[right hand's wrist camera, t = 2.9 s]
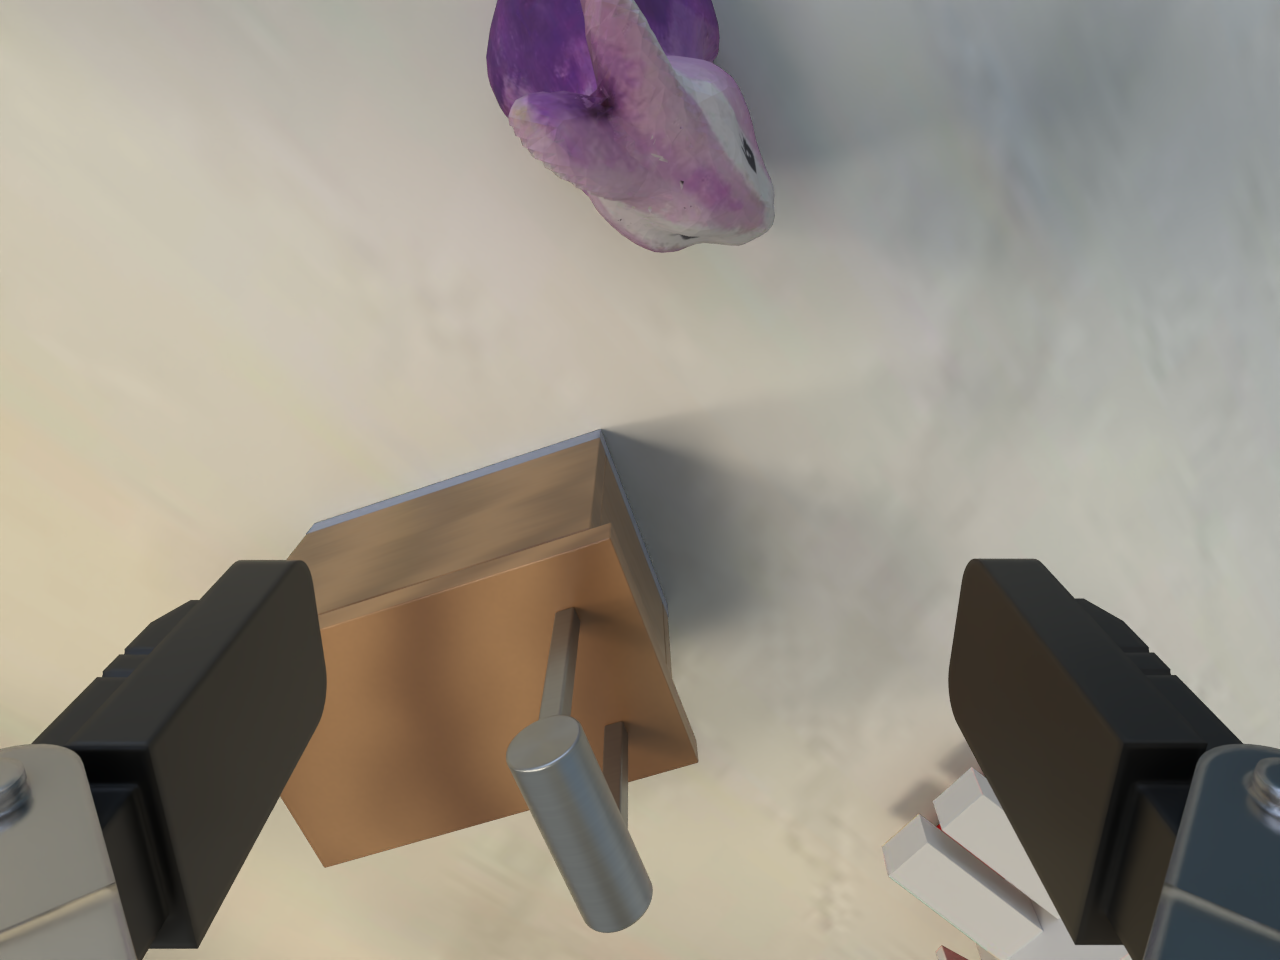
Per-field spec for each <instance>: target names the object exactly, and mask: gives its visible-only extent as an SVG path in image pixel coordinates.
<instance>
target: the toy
mask: <svg viewBox="0 0 1280 960" xmlns="http://www.w3.org/2000/svg"><path fill="white" fill-rule="evenodd" d="M933 804H934V807H935V810H936V813H937V817H938V820H939V823H940V824H939V825H938V826H937V827H936V826H934V825H933V824H932V823H931V822H929V821H928V820H927V819H925V818H924V817H923V816H921V815H920V814H918V815H917V816H916V817H914V818H913V819H912V820H911V821H910V822H909V823H908V824H906V825H905V826H904V827H903V828H902V829H901V830H900V831H899V832H897V833H896V834H895V835H894V836H893V837H892V838H891V839H890V840H888V841H887V842H886V843H885V844H884V845H883V846H882V850H883V855H884V859H885V864H886V868H887V873H888V877H890V878H891V879H892V880H894V881H895V882H896V883H898V884H899V885H900V886H902V887H903V888H904V889H906V890H907V891H908V892H909V893H911V894H912V895H913V896H915V897H916V898H917V899H919V900H920V901H921V902H923V903H924V904H925V905H927V906H928V907H929V908H931V909H932V910H933V911H935V912H936V913H937V914H939V915H940V916H941V917H943V918H944V919H945V920H947V921H948V922H949V923H950V924H952V925H953V926H954V927H956V928H957V929H958V930H960V931H961V932H962V933H964V934H965V935H966V936H968V937H969V938H970V939H972V940H973V941H974V942H976V945H977V948H978V951H979V955H980V958H981V960H1132V959H1131V957H1130V955H1129V953H1128V952H1127V950H1126V948H1125V947H1124V945H1075V944H1074V942H1073V940H1072V938H1071V936H1070V935H1069V933H1068V931H1067V929H1066V927H1065V925H1064V923H1063V921H1062V920H1061V918H1060V916H1059V914H1058V912H1057V910H1056V908H1055V906H1054V905H1053V903H1052V901H1051V899H1050V897H1049V895H1048V893H1047V891H1046V889H1045V888H1044V886H1043V884H1042V882H1041V880H1040V878H1039V876H1038V874H1037V873H1036V871H1035V869H1034V867H1033V865H1032V863H1031V861H1030V859H1029V858H1028V856H1027V854H1026V852H1025V850H1024V848H1023V846H1022V844H1021V843H1020V841H1019V839H1018V837H1017V835H1016V833H1015V831H1014V829H1013V827H1012V826H1011V824H1010V822H1009V820H1008V818H1007V816H1006V814H1005V812H1004V811H1003V809H1002V807H1001V805H1000V803H999V801H998V799H997V797H996V796H995V794H994V792H993V790H992V788H991V786H990V784H989V782H988V781H987V779H986V778H985V777H984V776H983V775H981V774H980V773H979V772H978V771H976V770H975V769H974V768H972V767H971V768H970V769H969V770H968V771H966V772H965V773H964V774H963V775H962V776H961V777H960V778H959V779H957V780H956V781H955V782H954V783H953V784H952V785H951V786H949V787H948V788H947V789H946V790H945V791H944V792H943V793H942V794H940V795H939V796H938V797H937V798H936V799H935V800H934V801H933ZM936 955H937V958H938V960H968V959H966V958H964V957H962V956H960V955H959V954H957V953H955V952H953V951H951V950H950V949H948V948H946V947H944V946H941V947H940V948H939V949H938V950H937V951H936Z"/></svg>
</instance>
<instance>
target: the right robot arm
mask: <svg viewBox="0 0 1280 960" xmlns="http://www.w3.org/2000/svg"><path fill="white" fill-rule="evenodd" d="M948 682H949V696H950V702H951V707H952V711H953V714H954V717H955V720H956V722H957V724H958V726H959V728H960V730H961V732H962V734H963V735H964V737H965V739H966V741H967V743H968V745H969V747H970V749H971V750H972V752H973V754H974V756H975V758H976V760H977V762H978V764H979V765H980V767H981V769H982V771H983V773H984V775H985V777H986V779H987V781H988V782H989V784H990V786H991V788H992V790H993V792H994V794H995V796H996V797H997V799H998V801H999V803H1000V805H1001V807H1002V809H1003V811H1004V812H1005V814H1006V816H1007V818H1008V820H1009V822H1010V824H1011V826H1012V827H1013V829H1014V831H1015V833H1016V835H1017V837H1018V839H1019V841H1020V843H1021V844H1022V846H1023V848H1024V850H1025V852H1026V854H1027V856H1028V858H1029V859H1030V861H1031V863H1032V865H1033V867H1034V869H1035V871H1036V873H1037V874H1038V876H1039V878H1040V880H1041V882H1042V884H1043V886H1044V888H1045V889H1046V891H1047V893H1048V895H1049V897H1050V899H1051V901H1052V903H1053V905H1054V906H1055V908H1056V910H1057V912H1058V914H1059V916H1060V918H1061V920H1062V921H1063V923H1064V925H1065V927H1066V929H1067V931H1068V933H1069V935H1070V936H1071V938H1072V940H1073V942H1074V944H1075V945H1124V947H1125V948H1126V950H1127V952H1128V953H1129V955H1130V957H1131V959H1132V960H1280V749H1277V748H1272V747H1267V746H1260V745H1252V744H1243V743H1242V742H1241V741H1240V740H1239V739H1238V738H1237V737H1236V736H1235V735H1234V734H1233V733H1232V732H1231V731H1230V730H1229V729H1228V728H1227V727H1226V726H1225V725H1224V724H1223V723H1222V722H1221V721H1220V720H1219V719H1218V718H1217V717H1216V715H1215V714H1214V713H1213V712H1212V711H1211V710H1210V709H1209V708H1208V707H1207V706H1206V705H1205V704H1204V703H1203V702H1202V701H1201V700H1200V699H1199V698H1198V697H1197V696H1196V695H1195V694H1194V693H1193V692H1192V691H1191V690H1190V689H1189V688H1188V687H1187V686H1186V685H1185V684H1184V683H1183V682H1182V681H1181V680H1180V679H1179V678H1178V677H1177V676H1176V675H1171V673H1170V668H1169V667H1168V666H1167V665H1166V664H1165V663H1164V662H1163V661H1162V660H1161V659H1160V658H1159V657H1158V656H1157V655H1156V654H1155V653H1149V647H1148V646H1147V645H1146V644H1145V643H1144V642H1143V641H1142V640H1141V639H1140V638H1139V637H1138V636H1137V635H1136V634H1135V633H1134V632H1133V631H1132V630H1131V629H1130V628H1129V627H1128V626H1127V625H1126V624H1125V623H1124V621H1122V620H1120V619H1119V618H1117V617H1115V616H1113V615H1112V614H1110V613H1108V612H1106V611H1105V610H1103V609H1101V608H1099V607H1097V606H1096V605H1094V604H1092V603H1090V602H1089V601H1087V600H1085V599H1075V598H1074V597H1073V596H1072V595H1071V594H1070V593H1069V592H1068V591H1067V590H1066V589H1065V588H1064V587H1063V585H1062V584H1061V583H1060V582H1059V581H1058V580H1057V579H1056V578H1055V577H1054V576H1053V575H1052V574H1051V572H1050V571H1049V570H1048V569H1047V568H1046V567H1045V566H1044V565H1043V564H1042V563H1041V562H1040V561H1039V560H1037V559H972V560H971V561H970V562H969V563H968V564H967V566H966V568H965V571H964V574H963V579H962V585H961V591H960V598H959V605H958V612H957V618H956V625H955V632H954V639H953V645H952V652H951V659H950V666H949V678H948ZM326 690H327V673H326V665H325V659H324V652H323V645H322V639H321V632H320V626H319V619H318V612H317V606H316V599H315V592H314V586H313V580H312V576H311V572H310V570H309V567H308V566H307V564H306V563H305V562H304V561H302V560H239V561H237V562H235V563H234V564H233V565H232V566H231V567H230V568H229V569H228V570H227V571H226V572H225V573H224V574H223V575H222V576H221V578H220V579H219V580H218V581H217V582H216V583H215V584H214V585H213V586H212V587H211V588H210V589H209V590H208V591H207V593H206V594H205V595H204V596H203V597H202V598H201V599H200V600H190V601H188V602H187V603H185V604H183V605H181V606H180V607H178V608H176V609H174V610H172V611H171V612H169V613H167V614H165V615H164V616H162V617H160V618H158V619H157V620H155V621H153V622H151V623H150V624H149V625H148V626H147V627H146V628H145V629H144V630H143V631H142V632H141V633H140V634H139V635H138V636H137V637H136V638H135V639H134V640H133V641H132V642H131V643H130V644H129V645H128V646H127V647H126V648H125V654H124V655H119V656H118V657H117V658H116V659H115V660H114V661H113V662H112V663H111V664H110V665H109V666H108V667H107V668H106V669H105V670H104V671H103V676H102V677H97V678H96V679H95V680H94V681H93V682H92V683H91V684H90V685H89V686H88V687H87V688H86V689H85V690H84V691H83V692H82V693H81V694H80V695H79V696H78V697H77V698H76V699H75V700H74V701H73V702H72V703H71V704H70V705H69V706H68V707H67V708H66V709H65V710H64V711H63V712H62V713H61V714H60V715H59V716H58V717H57V718H56V719H55V720H54V721H53V722H52V723H51V724H50V725H49V726H48V727H47V728H46V729H45V730H44V731H43V732H42V733H41V734H40V736H39V737H38V738H37V739H36V740H35V741H34V742H33V743H32V744H28V745H20V746H13V747H8V748H3V749H0V960H142V959H143V957H144V956H145V954H146V952H147V951H148V949H198V947H199V945H200V943H201V941H202V940H203V938H204V936H205V934H206V932H207V930H208V929H209V927H210V925H211V923H212V921H213V919H214V917H215V916H216V914H217V912H218V910H219V908H220V906H221V904H222V903H223V901H224V899H225V897H226V895H227V893H228V891H229V890H230V888H231V886H232V884H233V882H234V880H235V878H236V877H237V875H238V873H239V871H240V869H241V867H242V865H243V864H244V862H245V860H246V858H247V856H248V854H249V852H250V851H251V849H252V847H253V845H254V843H255V841H256V839H257V838H258V836H259V834H260V832H261V830H262V828H263V826H264V825H265V823H266V821H267V819H268V817H269V815H270V813H271V812H272V810H273V808H274V806H275V804H276V802H277V800H278V799H279V797H280V795H281V793H282V791H283V789H284V787H285V786H286V784H287V782H288V780H289V778H290V776H291V774H292V773H293V771H294V769H295V767H296V765H297V763H298V761H299V760H300V758H301V756H302V754H303V752H304V750H305V748H306V747H307V745H308V743H309V741H310V739H311V737H312V735H313V734H314V732H315V730H316V728H317V726H318V724H319V722H320V720H321V717H322V714H323V710H324V705H325V699H326Z"/></svg>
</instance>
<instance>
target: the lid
mask: <svg viewBox="0 0 1280 960" xmlns="http://www.w3.org/2000/svg"><path fill="white" fill-rule="evenodd" d="M318 619H319V626H320V632H321V639H322V645H323V652H324V659H325V665H326V673H327V690H326V699H325V705H324V710H323V714H322V717H321V720H320V722H319V724H318V726H317V728H316V730H315V732H314V734H313V735H312V737H311V739H310V741H309V743H308V745H307V747H306V748H305V750H304V752H303V754H302V756H301V758H300V760H299V761H298V763H297V765H296V767H295V769H294V771H293V773H292V774H291V776H290V778H289V780H288V782H287V784H286V786H285V787H284V789H283V791H282V793H281V795H280V796H281V798H282V800H283V801H284V803H285V805H286V806H287V808H288V809H289V811H290V813H291V814H292V816H293V817H294V819H295V821H296V822H297V824H298V826H299V827H300V829H301V830H302V832H303V834H304V835H305V837H306V839H307V840H308V842H309V843H310V845H311V847H312V848H313V850H314V851H315V853H316V855H317V856H318V858H319V860H320V861H321V863H322V864H323V866H324V867H325V868H326V867H329V866H333V865H336V864H340V863H343V862H347V861H351V860H354V859H358V858H361V857H365V856H368V855H372V854H375V853H379V852H382V851H386V850H390V849H393V848H397V847H400V846H404V845H407V844H411V843H414V842H418V841H421V840H425V839H429V838H432V837H436V836H439V835H443V834H446V833H450V832H453V831H457V830H461V829H464V828H468V827H471V826H475V825H478V824H482V823H485V822H489V821H492V820H496V819H500V818H503V817H507V816H510V815H514V814H517V813H521V812H524V811H528V810H530V812H531V814H532V816H533V818H534V820H535V822H536V824H537V826H538V828H539V830H540V832H541V834H542V836H543V838H544V840H545V842H546V844H547V846H548V848H549V850H550V852H551V854H552V856H553V858H554V860H555V862H556V865H557V867H558V869H559V871H560V873H561V875H562V877H563V879H564V881H565V883H566V885H567V887H568V889H569V891H570V893H571V895H572V897H573V899H574V901H575V903H576V905H577V907H578V909H579V911H580V913H581V915H582V917H583V919H584V921H585V923H586V924H587V925H588V926H589V927H590V928H592V929H594V930H595V931H598V932H603V933H611V932H617V931H620V930H623V929H625V928H627V927H629V926H631V925H632V924H634V923H635V922H636V921H637V920H639V919H640V918H641V917H642V916H643V914H644V913H645V912H646V910H647V909H648V907H649V905H650V902H651V899H652V891H653V889H652V883H651V881H650V879H649V876H648V874H647V872H646V870H645V867H644V865H643V863H642V861H641V858H640V856H639V854H638V852H637V849H636V847H635V845H634V843H633V840H632V838H631V836H630V834H629V831H628V782H631V781H634V780H638V779H641V778H645V777H648V776H652V775H656V774H659V773H663V772H666V771H670V770H673V769H677V768H680V767H684V766H688V765H691V764H695V763H698V752H697V743H696V739H695V736H694V734H693V731H692V728H691V726H690V723H689V721H688V718H687V716H686V713H685V711H684V708H683V705H682V703H681V700H680V698H679V695H678V693H677V690H676V687H675V685H674V682H673V680H672V677H671V675H670V672H669V670H668V667H667V664H666V662H665V659H664V657H663V654H662V652H661V649H660V646H659V644H658V641H657V639H656V636H655V634H654V631H653V629H652V626H651V623H650V621H649V618H648V616H647V613H646V611H645V608H644V605H643V603H642V600H641V598H640V595H639V593H638V590H637V588H636V585H635V582H634V580H633V577H632V575H631V572H630V570H629V567H628V564H627V562H626V559H625V557H624V554H623V552H622V549H621V547H620V544H619V541H618V539H617V536H616V534H615V531H614V529H613V526H612V524H611V523H608V524H605V525H602V526H599V527H596V528H592V529H589V530H586V531H583V532H580V533H577V534H574V535H570V536H567V537H564V538H561V539H558V540H555V541H551V542H548V543H545V544H542V545H539V546H536V547H533V548H529V549H526V550H523V551H520V552H517V553H514V554H511V555H507V556H504V557H501V558H498V559H495V560H492V561H488V562H485V563H482V564H479V565H476V566H473V567H470V568H466V569H463V570H460V571H457V572H454V573H451V574H448V575H444V576H441V577H438V578H435V579H432V580H429V581H425V582H422V583H419V584H416V585H413V586H410V587H407V588H403V589H400V590H397V591H394V592H391V593H388V594H385V595H381V596H378V597H375V598H372V599H369V600H366V601H363V602H359V603H356V604H353V605H350V606H347V607H344V608H340V609H337V610H334V611H331V612H328V613H325V614H322V615H318Z"/></svg>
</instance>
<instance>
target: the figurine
mask: <svg viewBox="0 0 1280 960" xmlns="http://www.w3.org/2000/svg"><path fill="white" fill-rule="evenodd" d="M718 50H719V28H718V22H717V18H716V15H715V11H714V8H713V4H712V1H711V0H498V1H497V5H496V8H495V12H494V16H493V20H492V23H491V28H490V34H489V41H488V49H487V56H486V59H487V70H488V77H489V81H490V85H491V87H492V90H493V92H494V94H495V97H496V99H497V101H498V103H499V106H500V107H501V109H502V111H503V112H504V114H505V115H506V116H507V117H508V119H509V124H510V126H512V127H513V128H514V132H515V136H518V137H520V139H521V142H522V145H523V146H524V147H526V148H528V150H529V152H530V154H531V155H532V156H533V157H534V158H535V159H538V160H541V161H543V163H544V166H545V168H547V169H550V170H551V171H553V172H554V173H555V174H556V175H557V176H558V177H560V178H561V179H564V180H567V181H569V182H571V183H572V184H573V185H574V186H575V187H576V188H579V189H582V190H583V191H584V192H585V194H586V195H588V196H589V197H590V199H591V201H592V203H593V204H594V206H595V208H596V209H597V211H598V212H599V213H600V214H601V215H602V216H603V217H604V218H605V219H606V220H607V221H608V222H609V224H610V225H611V226H613V227H614V228H615V229H616V230H617V231H618V232H619V233H621V234H622V235H623V236H625V237H626V238H628V239H629V240H631V241H632V242H634V243H635V244H637V245H639V246H641V247H643V248H646V249H648V250H651V251H654V252H674V251H679V250H681V249H684V248H686V247H688V246H691V245H694V244H697V243H714V244H724V245H742V244H745V243H747V242H749V241H751V240H753V239H755V238H757V237H759V236H761V235H763V234H764V233H766V232H767V231H768V230H769V229H770V228H771V226H772V225H773V221H774V216H775V214H774V205H773V204H774V188H773V185H772V182H771V178H770V176H769V174H768V172H767V170H766V168H765V165H764V162H763V160H762V157H761V154H760V151H759V148H758V145H757V142H756V138H755V134H754V129H753V125H752V121H751V118H750V114H749V111H748V108H747V106H746V103H745V101H744V98H743V96H742V93H741V91H740V89H739V87H738V85H737V84H736V82H735V81H734V79H733V78H732V77H731V76H730V75H729V74H728V73H726V72H725V71H724V70H722V69H721V68H720V67H718V66H717V65H715V64H714V63H713V61H714V59H715V58H716V56H717V54H718Z"/></svg>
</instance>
